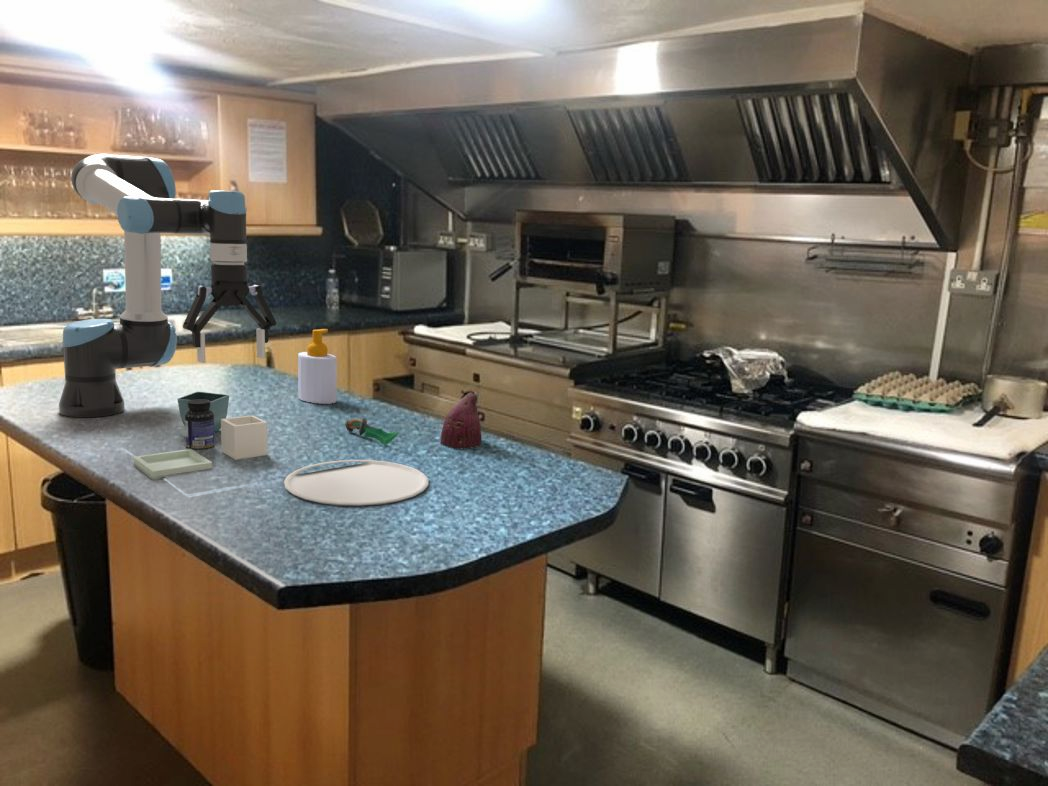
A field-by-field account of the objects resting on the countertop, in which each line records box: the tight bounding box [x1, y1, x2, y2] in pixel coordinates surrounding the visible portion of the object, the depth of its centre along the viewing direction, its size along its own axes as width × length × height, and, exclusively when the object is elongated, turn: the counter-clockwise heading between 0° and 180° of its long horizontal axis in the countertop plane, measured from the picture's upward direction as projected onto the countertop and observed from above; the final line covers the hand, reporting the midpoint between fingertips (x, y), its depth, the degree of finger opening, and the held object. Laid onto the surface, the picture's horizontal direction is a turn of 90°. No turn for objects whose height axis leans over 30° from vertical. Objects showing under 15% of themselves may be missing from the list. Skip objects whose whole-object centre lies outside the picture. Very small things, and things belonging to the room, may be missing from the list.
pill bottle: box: [184, 399, 216, 451], centre depth 193 cm, size 6×6×11 cm
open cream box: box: [220, 414, 268, 460], centre depth 190 cm, size 7×7×8 cm
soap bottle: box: [297, 328, 338, 405], centre depth 246 cm, size 13×8×20 cm, turn 58°
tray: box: [132, 448, 213, 481], centre depth 180 cm, size 12×12×2 cm
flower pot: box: [177, 391, 230, 433], centre depth 207 cm, size 9×9×9 cm
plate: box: [283, 459, 429, 507], centre depth 176 cm, size 29×29×1 cm
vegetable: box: [440, 390, 482, 450], centre depth 209 cm, size 10×10×15 cm
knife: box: [344, 417, 400, 446], centre depth 208 cm, size 21×2×5 cm, turn 46°
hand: (232, 359), depth 191 cm, fingers open, 13 cm apart
